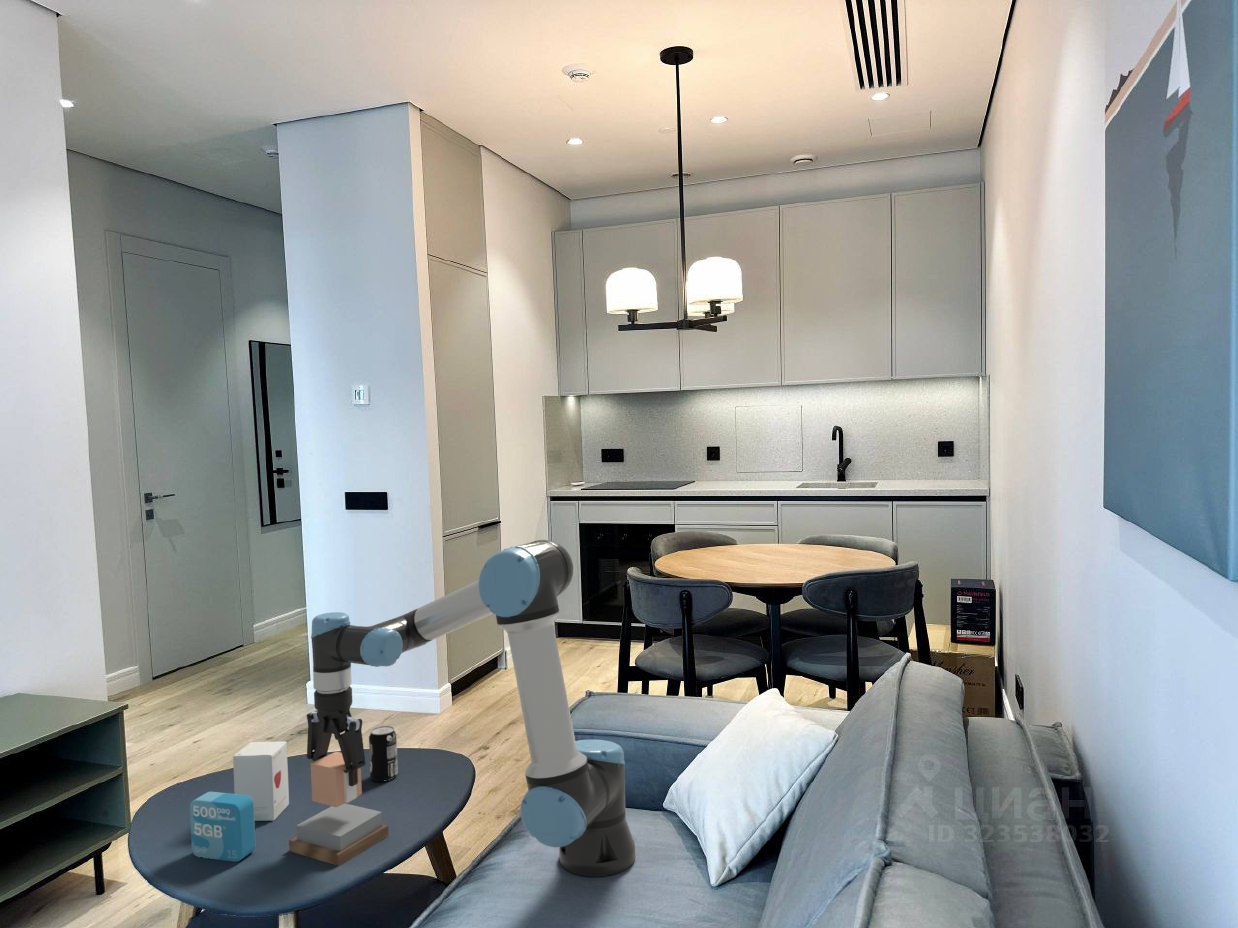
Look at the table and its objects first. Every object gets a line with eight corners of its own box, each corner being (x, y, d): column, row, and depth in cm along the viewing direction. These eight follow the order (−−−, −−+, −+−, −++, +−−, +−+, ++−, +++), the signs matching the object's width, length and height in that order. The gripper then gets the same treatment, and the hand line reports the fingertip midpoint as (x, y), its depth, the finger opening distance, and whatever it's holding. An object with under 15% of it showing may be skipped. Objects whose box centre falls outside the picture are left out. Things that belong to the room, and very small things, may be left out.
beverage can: (368, 775, 219) (366, 727, 218) (395, 770, 222) (393, 723, 221) (372, 784, 213) (370, 736, 212) (400, 779, 216) (398, 731, 215)
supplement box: (274, 821, 194) (271, 755, 194) (234, 822, 194) (231, 755, 194) (290, 803, 203) (287, 740, 203) (252, 804, 204) (249, 741, 203)
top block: (382, 825, 186) (381, 811, 186) (340, 851, 175) (340, 836, 175) (339, 815, 191) (339, 801, 191) (297, 839, 181) (296, 825, 180)
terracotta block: (361, 794, 184) (360, 756, 184) (336, 807, 178) (335, 768, 178) (337, 788, 188) (336, 751, 187) (312, 800, 182) (310, 763, 181)
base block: (388, 839, 186) (388, 825, 186) (338, 869, 174) (338, 854, 174) (340, 825, 193) (340, 812, 193) (289, 854, 181) (289, 839, 180)
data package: (191, 856, 179) (188, 799, 178) (207, 846, 183) (204, 790, 183) (241, 863, 176) (238, 804, 175) (256, 852, 180) (253, 795, 180)
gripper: (381, 689, 180) (385, 798, 181) (313, 677, 190) (317, 781, 191) (354, 699, 174) (359, 812, 175) (284, 687, 183) (289, 794, 184)
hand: (337, 796), depth 183 cm, fingers closed on terracotta block, 7 cm apart
